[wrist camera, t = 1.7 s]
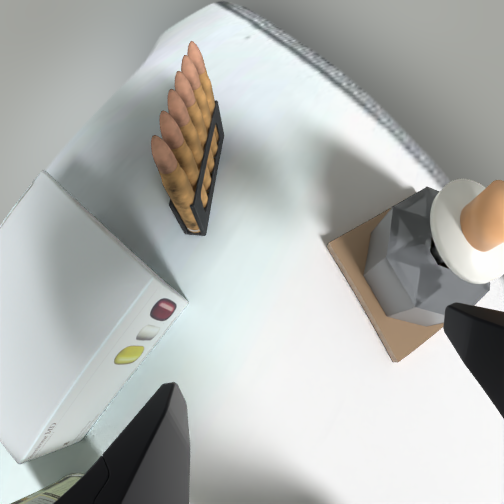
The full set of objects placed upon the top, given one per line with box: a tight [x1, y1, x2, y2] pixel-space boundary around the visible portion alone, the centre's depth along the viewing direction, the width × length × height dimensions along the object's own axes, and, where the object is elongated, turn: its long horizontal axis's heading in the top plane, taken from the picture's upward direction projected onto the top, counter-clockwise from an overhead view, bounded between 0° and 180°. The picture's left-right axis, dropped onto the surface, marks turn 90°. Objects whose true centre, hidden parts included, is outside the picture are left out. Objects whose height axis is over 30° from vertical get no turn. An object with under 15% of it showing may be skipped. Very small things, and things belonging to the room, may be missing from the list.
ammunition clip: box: [151, 41, 224, 236], centre depth 22 cm, size 11×2×12 cm, turn 174°
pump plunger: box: [430, 179, 504, 284], centre depth 16 cm, size 6×6×9 cm
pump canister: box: [327, 187, 490, 362], centre depth 21 cm, size 11×11×6 cm
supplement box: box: [0, 170, 188, 464], centre depth 19 cm, size 17×13×9 cm
